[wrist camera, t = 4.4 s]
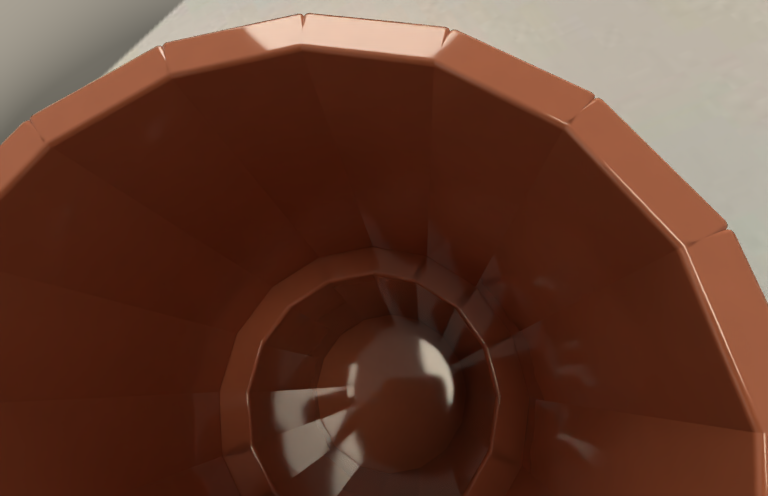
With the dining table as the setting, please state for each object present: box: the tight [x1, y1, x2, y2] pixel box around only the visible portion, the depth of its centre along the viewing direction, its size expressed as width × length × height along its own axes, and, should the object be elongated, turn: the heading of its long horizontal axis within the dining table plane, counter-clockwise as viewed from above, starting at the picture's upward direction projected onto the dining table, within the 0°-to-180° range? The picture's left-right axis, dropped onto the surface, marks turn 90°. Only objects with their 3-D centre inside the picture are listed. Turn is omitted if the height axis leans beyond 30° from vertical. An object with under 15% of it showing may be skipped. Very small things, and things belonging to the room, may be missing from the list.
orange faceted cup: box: [0, 13, 768, 496], centre depth 9 cm, size 7×7×13 cm
